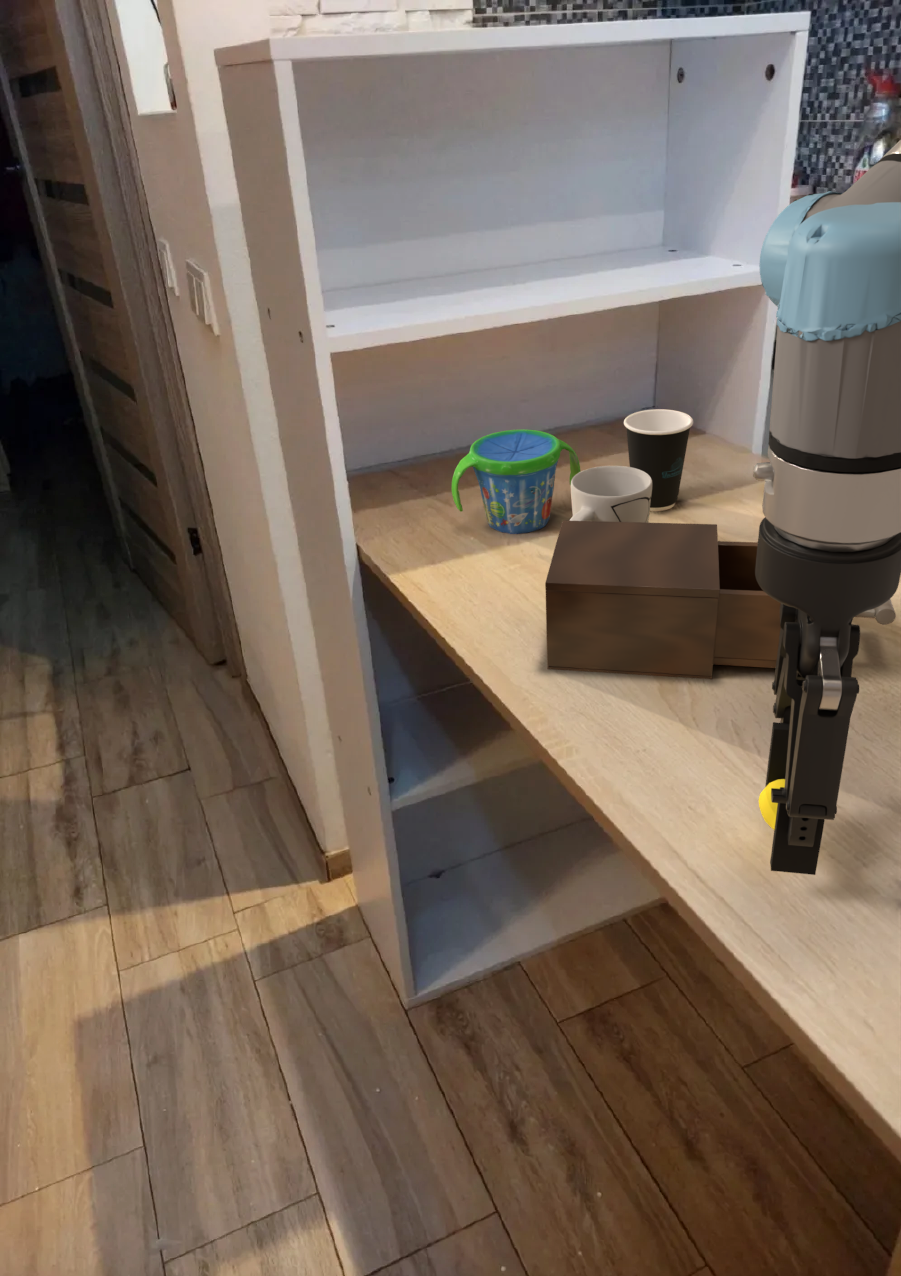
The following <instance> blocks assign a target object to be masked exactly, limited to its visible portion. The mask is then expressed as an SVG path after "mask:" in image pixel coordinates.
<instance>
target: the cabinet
mask: <svg viewBox="0 0 901 1276" xmlns="http://www.w3.org/2000/svg"><path fill="white" fill-rule="evenodd" d="M718 533H719V532H718V524H717V523H681V522H680V523H678V522H648V523H643V522H604V521H570V520H561V524H560V529H559V531H558V535H557V538H556V542H555V547H554V550H553V553H552V557H551V561H550V563H549V567H548V570H547V571H548V572H547V575H546V579H545V583H544V584H545V587H544V588H545V623H546V624H545V626H546V629H545V630H546V665H547V670H551V671H552V670H553V671H555V670H556V671H571V672H587V673H600V674H601V673H602V674H603V673H604V674H620V675H634V676H635V675H636V676H653V677H666V678H668V677H669V678H683V679H684V678H685V679H700V680H701V679H702V680H712V679H713V671H714V670H713V669H714V664H713V660H714V649H715V638H716V627H717V615H718V604H719V594H720V582H719V558H718V541H719V537H718V536H719V535H718Z"/></svg>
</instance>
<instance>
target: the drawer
mask: <svg viewBox="0 0 901 1276" xmlns="http://www.w3.org/2000/svg"><path fill="white" fill-rule="evenodd" d="M757 546H758V541H729V540H728V541H726V540H724V541H723V540H718V558H719V582H720V594H719V604H718V615H717V627H716V638H715V649H714V660H713V665H715V666H716V665H717V666H735V667H752V668H766V669H767V668H769V669H776V661H777V653H778V645H779V635H780V629H781V626H780V604H781V603H780V602H778V601H776V600H774V599H773V598H771V597H770V596H769V595H767V594H766V593H765V592H764V591H763V590H762V589H761V587H760V586H759V584H758V582H757V580H756V576H755V567H756V556H757ZM896 616H897V614H896V611H895V607H894V605H893V602H892V598H890V599H889V600H888V601H887V602H886V603H884V604H882V605H881V606H879V607H876V608H874V609H871V610H867V611H865V612H863V613H860V614H859V615H857V616H855V617H854V618H864V619H865V618H866V619H867V618H869V619H875V621H876V623H878V624H880V625H883V626H884V625H890V624H892V623H893V622H894V621H895V620H896Z"/></svg>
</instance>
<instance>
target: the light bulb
mask: <svg viewBox="0 0 901 1276" xmlns="http://www.w3.org/2000/svg"><path fill="white" fill-rule="evenodd" d="M780 787H785V779H778V780H775V781H773V782H771V783H769V784H768V785H767V786H766V787H765V786H764V788H763V790H762V791H761V792H760V793H759V797H758V808H759V811H760V813H761V816H762V819H763V820H764V822H765V823H766V824H767V825H768V827H770V828H771V829H772V830H773V831H774V829H775V822H776V814H777V806H778V803H772V801H771V788H776V789H780Z"/></svg>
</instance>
